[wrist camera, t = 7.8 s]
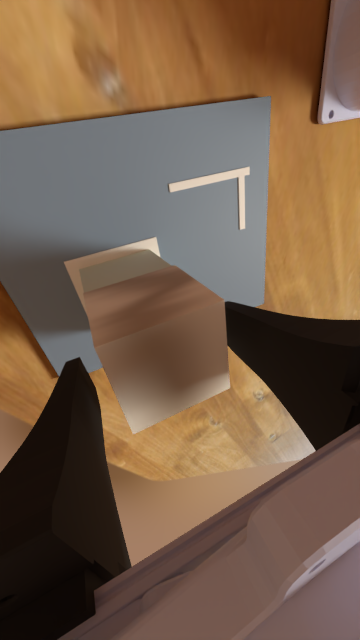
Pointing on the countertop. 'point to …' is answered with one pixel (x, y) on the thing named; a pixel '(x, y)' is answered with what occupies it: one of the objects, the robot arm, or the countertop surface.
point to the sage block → (120, 269)
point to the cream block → (159, 343)
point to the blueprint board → (132, 209)
